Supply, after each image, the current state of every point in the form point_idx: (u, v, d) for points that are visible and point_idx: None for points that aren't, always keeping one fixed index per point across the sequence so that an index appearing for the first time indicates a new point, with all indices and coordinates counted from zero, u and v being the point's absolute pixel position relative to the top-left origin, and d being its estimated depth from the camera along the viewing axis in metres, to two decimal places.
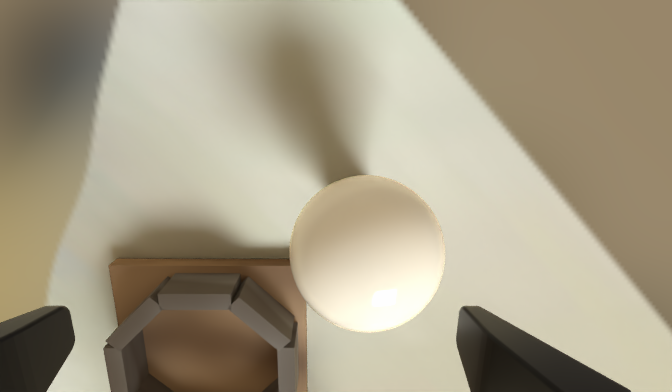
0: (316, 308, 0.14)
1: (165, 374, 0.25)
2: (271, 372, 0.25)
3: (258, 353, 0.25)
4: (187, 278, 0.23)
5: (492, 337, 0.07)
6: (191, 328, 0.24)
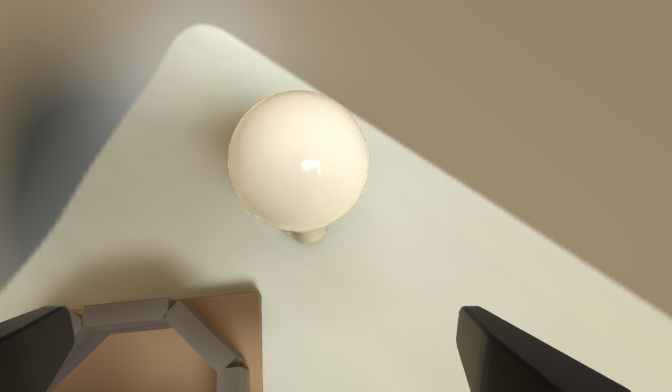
0: (246, 168, 0.15)
1: None
2: None
3: None
4: None
5: (492, 337, 0.07)
6: None
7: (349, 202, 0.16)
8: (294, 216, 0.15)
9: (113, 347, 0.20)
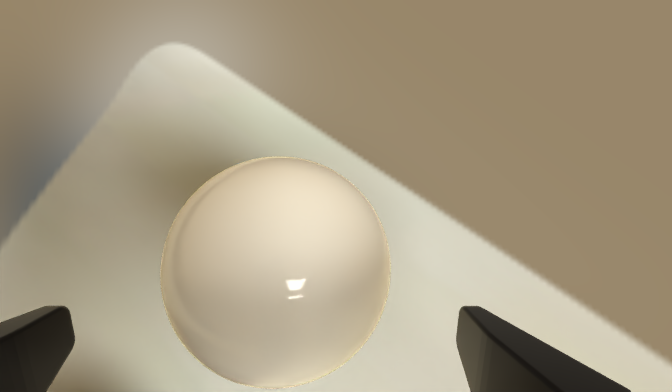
0: (182, 307, 0.08)
1: None
2: None
3: None
4: None
5: (492, 337, 0.07)
6: None
7: (362, 345, 0.10)
8: (267, 382, 0.09)
9: None
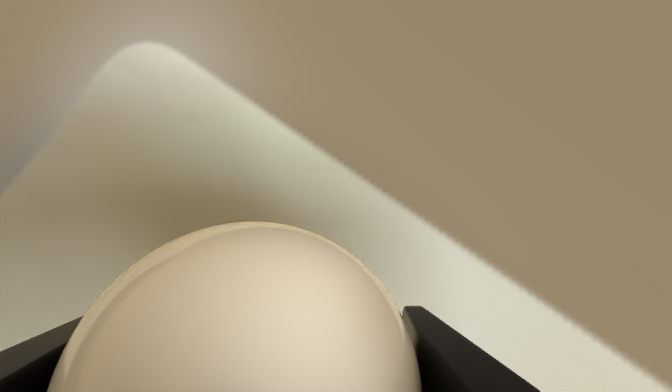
0: None
1: None
2: None
3: None
4: None
5: (422, 337, 0.07)
6: None
7: None
8: None
9: None
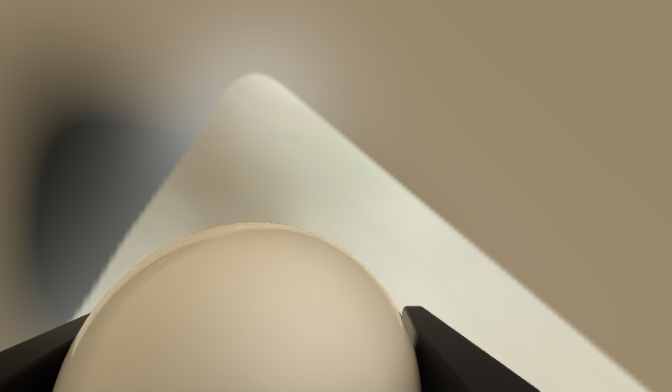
0: None
1: None
2: None
3: None
4: None
5: (422, 337, 0.07)
6: None
7: None
8: None
9: None
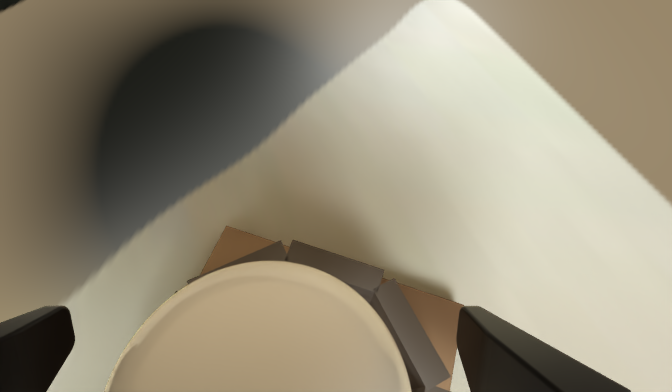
0: None
1: None
2: None
3: None
4: None
5: (492, 337, 0.07)
6: None
7: None
8: None
9: None
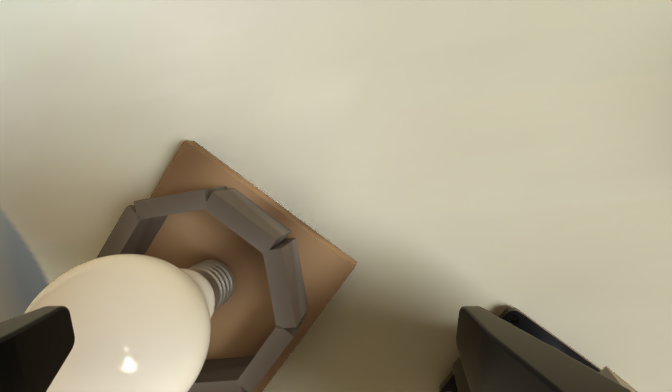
0: None
1: (209, 348, 0.22)
2: None
3: (242, 249, 0.21)
4: None
5: (492, 337, 0.07)
6: None
7: (183, 302, 0.13)
8: (185, 376, 0.13)
9: None
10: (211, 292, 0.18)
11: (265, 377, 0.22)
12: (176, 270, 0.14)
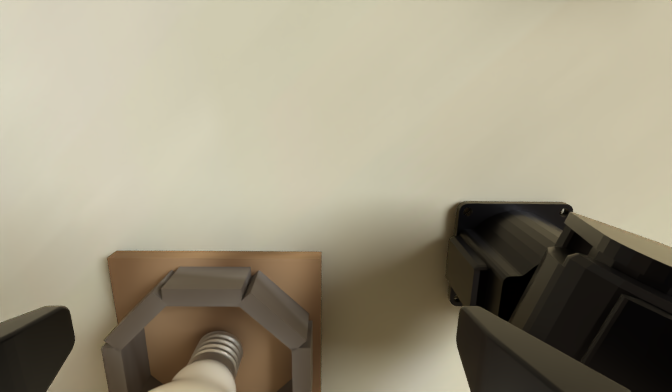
0: None
1: None
2: None
3: (224, 307, 0.22)
4: None
5: (492, 337, 0.07)
6: None
7: None
8: None
9: (161, 371, 0.23)
10: (220, 369, 0.19)
11: (315, 384, 0.24)
12: None
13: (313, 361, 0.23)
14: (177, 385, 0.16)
